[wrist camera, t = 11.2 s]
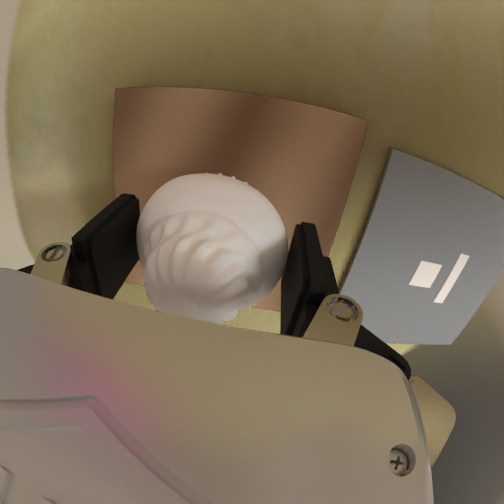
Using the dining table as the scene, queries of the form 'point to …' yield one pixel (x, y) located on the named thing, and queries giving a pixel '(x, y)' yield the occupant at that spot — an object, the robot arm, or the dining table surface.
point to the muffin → (210, 247)
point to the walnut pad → (239, 153)
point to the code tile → (425, 253)
